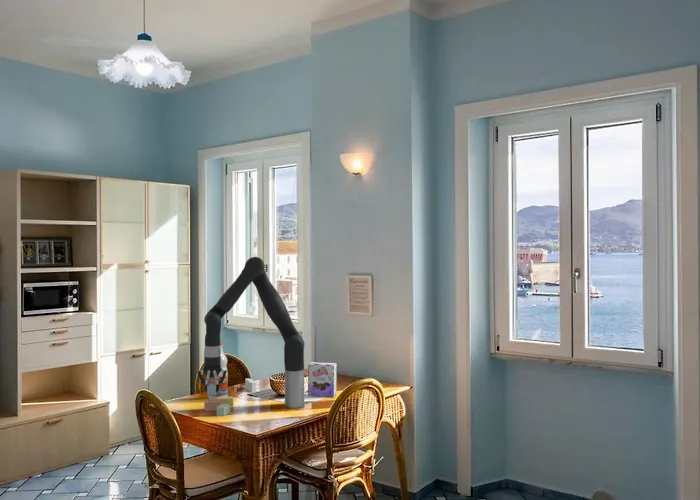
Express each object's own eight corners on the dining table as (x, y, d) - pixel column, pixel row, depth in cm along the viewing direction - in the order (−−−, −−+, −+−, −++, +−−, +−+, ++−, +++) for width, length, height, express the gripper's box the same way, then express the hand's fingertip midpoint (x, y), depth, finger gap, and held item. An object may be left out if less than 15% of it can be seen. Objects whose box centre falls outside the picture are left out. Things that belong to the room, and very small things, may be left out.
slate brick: (209, 393, 290) (209, 384, 291) (217, 393, 290) (217, 384, 291) (207, 394, 283) (207, 385, 284) (215, 394, 283) (215, 385, 284)
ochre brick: (232, 404, 297) (232, 396, 297) (233, 406, 293) (233, 398, 293) (216, 406, 295) (216, 397, 295) (217, 407, 291) (217, 399, 291)
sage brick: (223, 411, 284) (223, 403, 284) (230, 412, 283) (230, 403, 283) (216, 416, 277) (216, 407, 277) (224, 416, 276) (224, 407, 276)
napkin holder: (258, 393, 321) (258, 382, 321) (237, 393, 322) (237, 382, 322) (264, 387, 336) (264, 376, 336) (244, 387, 337) (244, 376, 337)
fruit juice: (211, 396, 312) (211, 341, 312) (229, 397, 311) (229, 341, 311) (205, 401, 303) (205, 344, 303) (224, 401, 302) (224, 344, 302)
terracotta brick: (220, 408, 290) (220, 400, 290) (220, 410, 286) (220, 402, 286) (204, 409, 288) (204, 400, 288) (204, 411, 285) (204, 402, 285)
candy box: (307, 395, 314) (307, 363, 314) (311, 393, 320) (311, 361, 320) (333, 397, 311) (333, 364, 311) (336, 394, 317) (336, 362, 317)
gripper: (228, 353, 292) (228, 390, 292) (198, 354, 290) (198, 390, 290) (226, 356, 284) (226, 394, 284) (195, 356, 283) (195, 394, 283)
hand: (212, 392), depth 287 cm, fingers closed on slate brick, 3 cm apart
